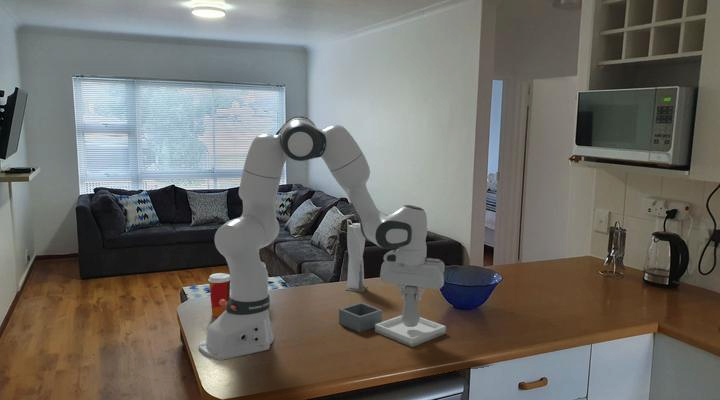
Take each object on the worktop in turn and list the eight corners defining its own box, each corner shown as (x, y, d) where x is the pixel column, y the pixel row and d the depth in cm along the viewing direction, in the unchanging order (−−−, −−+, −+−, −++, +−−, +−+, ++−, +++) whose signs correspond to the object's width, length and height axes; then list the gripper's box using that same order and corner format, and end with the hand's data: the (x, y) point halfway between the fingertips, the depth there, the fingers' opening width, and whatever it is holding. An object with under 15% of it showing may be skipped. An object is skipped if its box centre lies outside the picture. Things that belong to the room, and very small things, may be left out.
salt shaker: (423, 324, 177) (424, 285, 175) (412, 329, 173) (413, 289, 171) (408, 320, 181) (409, 281, 179) (397, 324, 176) (398, 285, 175)
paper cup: (220, 309, 196) (219, 271, 194) (236, 313, 192) (235, 274, 190) (204, 316, 189) (202, 276, 187) (220, 320, 186) (219, 280, 183)
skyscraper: (342, 289, 220) (342, 221, 216) (349, 284, 228) (349, 217, 224) (362, 292, 217) (363, 222, 213) (368, 286, 225) (369, 219, 221)
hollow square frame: (359, 332, 177) (359, 317, 176) (338, 323, 184) (339, 309, 184) (382, 324, 184) (382, 310, 183) (361, 316, 191) (361, 302, 190)
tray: (411, 347, 166) (412, 339, 166) (374, 331, 178) (375, 324, 177) (445, 333, 177) (445, 326, 176) (408, 319, 188) (408, 312, 188)
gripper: (447, 257, 172) (445, 299, 174) (385, 251, 180) (384, 291, 182) (442, 262, 167) (441, 305, 169) (378, 255, 174) (378, 297, 176)
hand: (411, 298), depth 175 cm, fingers closed on salt shaker, 3 cm apart
